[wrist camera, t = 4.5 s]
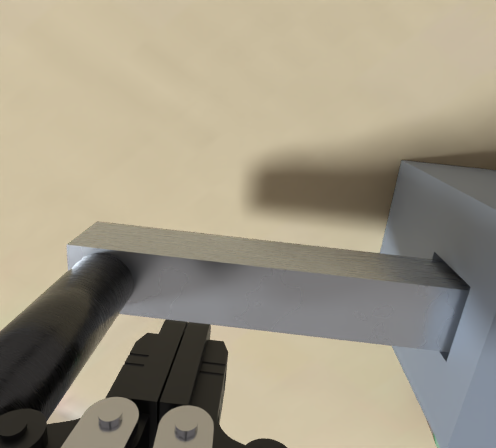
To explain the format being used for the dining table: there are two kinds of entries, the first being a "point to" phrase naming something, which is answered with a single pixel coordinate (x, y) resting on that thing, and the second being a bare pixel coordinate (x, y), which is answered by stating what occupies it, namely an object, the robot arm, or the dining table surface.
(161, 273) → the grey lever black handle
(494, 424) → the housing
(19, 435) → the robot arm
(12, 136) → the dining table surface
